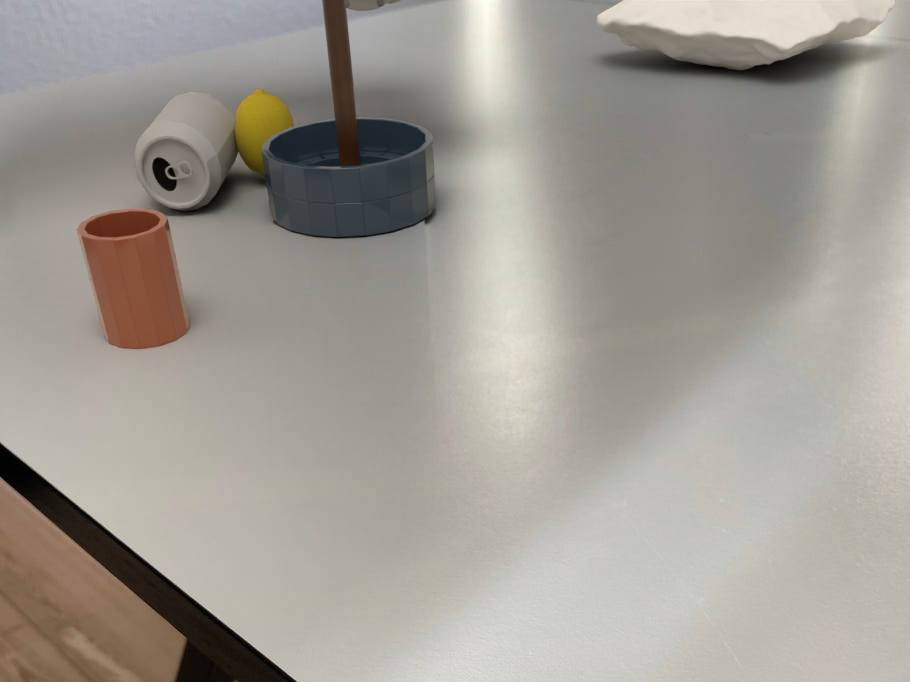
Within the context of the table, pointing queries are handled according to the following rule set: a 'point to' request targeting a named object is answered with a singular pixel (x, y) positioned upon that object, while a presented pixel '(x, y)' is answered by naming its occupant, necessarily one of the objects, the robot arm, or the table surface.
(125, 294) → the holder
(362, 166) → the bowl
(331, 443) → the table surface
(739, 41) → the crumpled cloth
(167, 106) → the can
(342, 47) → the stick
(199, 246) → the table surface
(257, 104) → the lemon
